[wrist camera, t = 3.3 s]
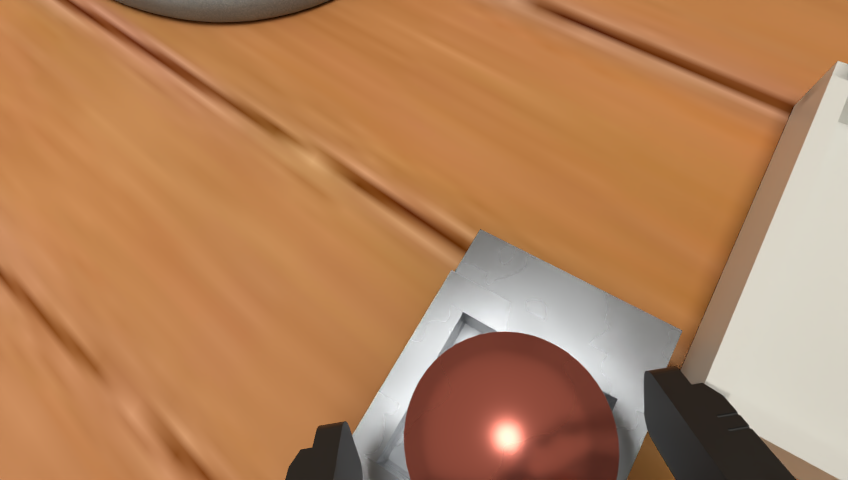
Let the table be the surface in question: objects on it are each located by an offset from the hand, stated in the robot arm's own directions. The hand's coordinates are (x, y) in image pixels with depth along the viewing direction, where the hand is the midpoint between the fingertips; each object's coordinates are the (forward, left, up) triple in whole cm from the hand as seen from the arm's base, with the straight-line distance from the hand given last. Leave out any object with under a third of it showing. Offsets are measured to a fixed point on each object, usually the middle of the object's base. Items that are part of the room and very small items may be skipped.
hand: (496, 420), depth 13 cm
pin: (0, 0, -6) cm, 6 cm away
